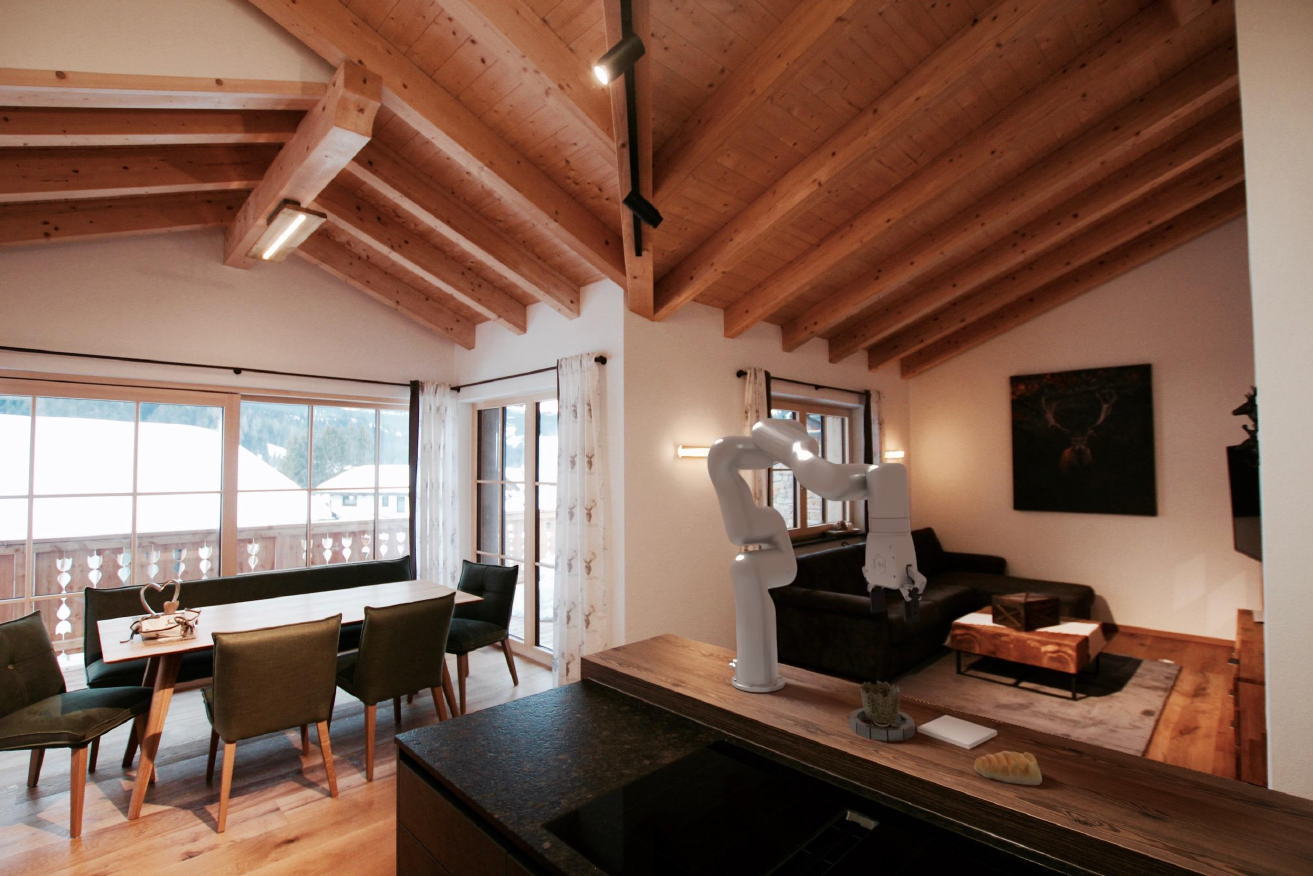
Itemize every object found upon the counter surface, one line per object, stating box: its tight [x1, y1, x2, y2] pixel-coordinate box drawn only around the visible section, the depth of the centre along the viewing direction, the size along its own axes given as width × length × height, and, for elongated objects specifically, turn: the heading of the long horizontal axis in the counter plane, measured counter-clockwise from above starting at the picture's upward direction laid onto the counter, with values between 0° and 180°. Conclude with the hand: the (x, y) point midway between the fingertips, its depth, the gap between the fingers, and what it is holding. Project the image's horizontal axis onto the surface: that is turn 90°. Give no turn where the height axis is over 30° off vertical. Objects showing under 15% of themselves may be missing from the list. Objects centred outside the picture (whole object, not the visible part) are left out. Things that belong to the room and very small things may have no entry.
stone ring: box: [849, 707, 915, 743], centre depth 121 cm, size 12×12×2 cm
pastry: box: [973, 750, 1043, 786], centre depth 101 cm, size 9×7×4 cm
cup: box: [859, 681, 901, 728], centre depth 121 cm, size 8×7×8 cm
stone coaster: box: [916, 714, 998, 750], centre depth 118 cm, size 10×10×1 cm
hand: (894, 616), depth 119 cm, fingers open, 9 cm apart
